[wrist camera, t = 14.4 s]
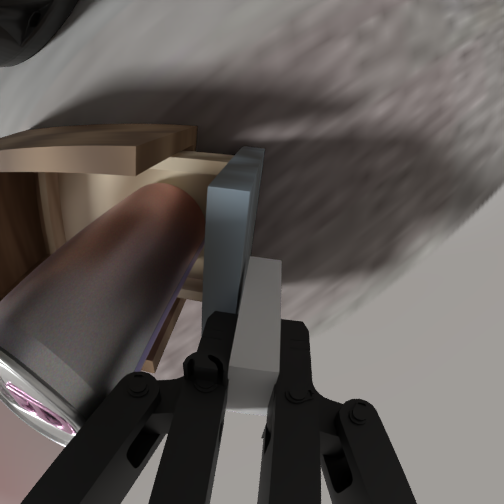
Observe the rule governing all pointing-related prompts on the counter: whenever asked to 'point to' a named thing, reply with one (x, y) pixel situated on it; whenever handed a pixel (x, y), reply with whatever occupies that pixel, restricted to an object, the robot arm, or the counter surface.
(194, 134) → the caddy
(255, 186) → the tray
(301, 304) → the counter surface
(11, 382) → the beverage can
